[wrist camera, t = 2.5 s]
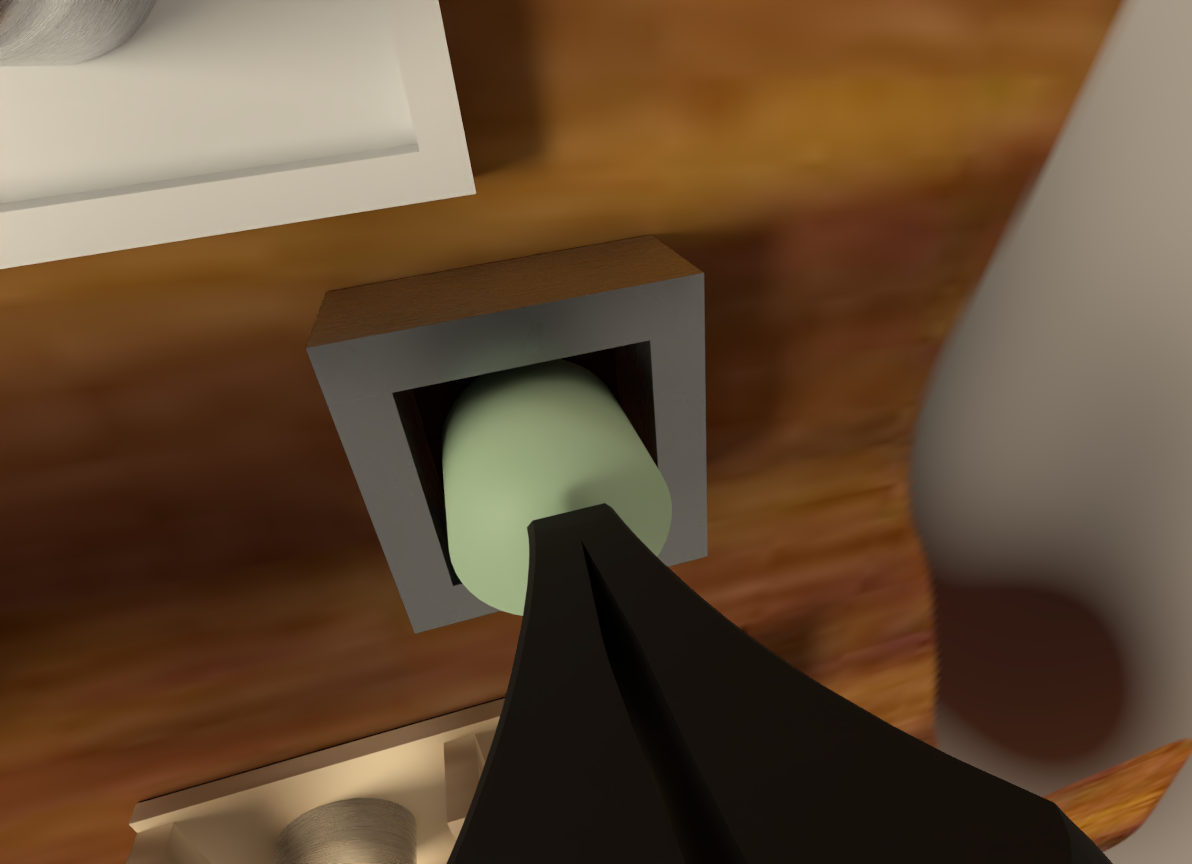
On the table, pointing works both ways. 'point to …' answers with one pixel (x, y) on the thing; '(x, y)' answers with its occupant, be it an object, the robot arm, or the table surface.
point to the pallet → (326, 793)
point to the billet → (66, 29)
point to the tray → (230, 126)
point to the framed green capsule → (498, 342)
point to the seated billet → (350, 834)
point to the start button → (539, 471)
